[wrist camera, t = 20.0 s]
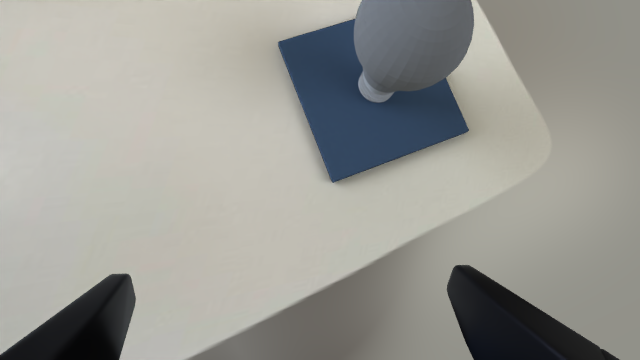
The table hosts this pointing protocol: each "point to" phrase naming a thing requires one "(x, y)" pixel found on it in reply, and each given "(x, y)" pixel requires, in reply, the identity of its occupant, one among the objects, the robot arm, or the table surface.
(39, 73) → the table surface
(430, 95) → the rubber mat
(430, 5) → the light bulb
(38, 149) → the table surface
